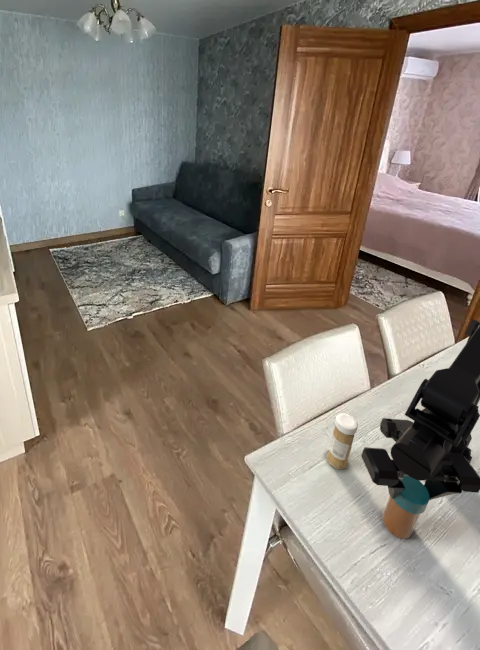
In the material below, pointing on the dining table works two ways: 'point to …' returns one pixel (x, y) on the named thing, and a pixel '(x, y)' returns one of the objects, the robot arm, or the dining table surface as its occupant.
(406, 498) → the lid
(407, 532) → the jar
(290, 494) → the dining table surface
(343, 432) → the sprinkles bottle
